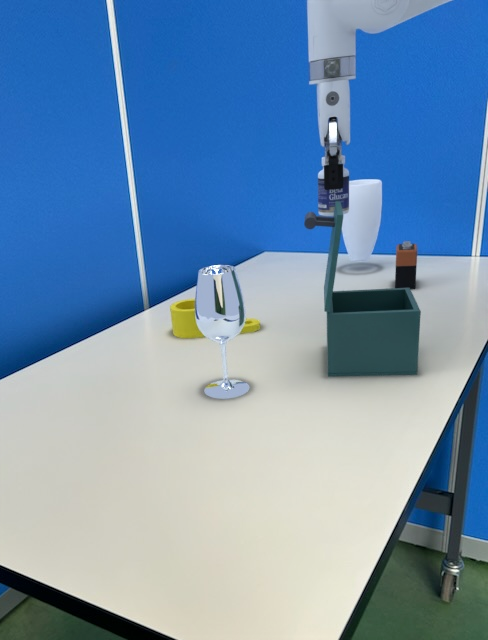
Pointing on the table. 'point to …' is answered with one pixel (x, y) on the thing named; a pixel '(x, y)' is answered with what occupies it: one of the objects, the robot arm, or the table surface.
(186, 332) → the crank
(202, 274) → the wineglass
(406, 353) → the cool chest
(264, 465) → the table surface
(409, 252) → the battery
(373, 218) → the cup
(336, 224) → the chest lid
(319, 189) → the pill bottle
